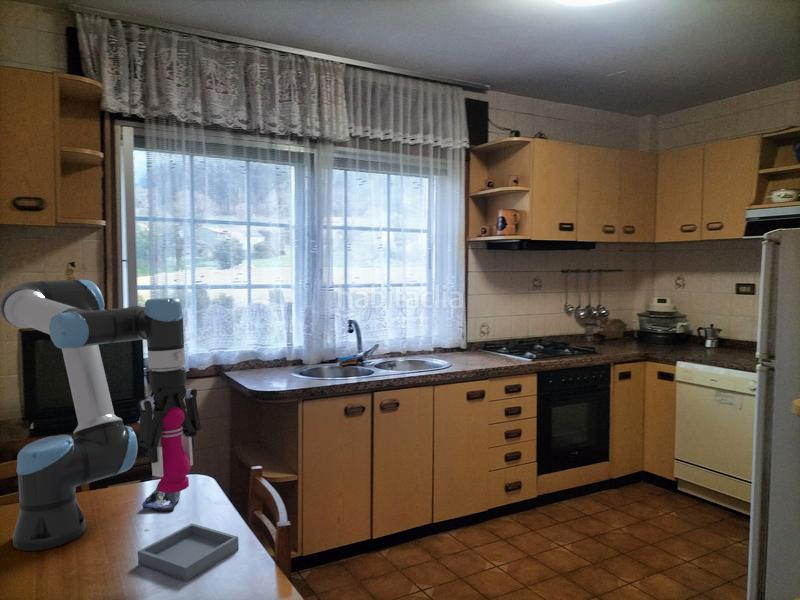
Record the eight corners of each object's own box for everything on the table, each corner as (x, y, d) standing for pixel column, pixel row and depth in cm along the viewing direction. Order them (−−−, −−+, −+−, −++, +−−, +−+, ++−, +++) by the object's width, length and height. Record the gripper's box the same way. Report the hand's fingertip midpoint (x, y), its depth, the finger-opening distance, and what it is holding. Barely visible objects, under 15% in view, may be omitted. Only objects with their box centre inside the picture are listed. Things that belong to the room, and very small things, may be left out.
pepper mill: (179, 494, 125) (174, 403, 124) (149, 493, 126) (144, 402, 125) (197, 482, 132) (192, 395, 131) (168, 481, 133) (164, 395, 132)
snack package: (199, 501, 161) (171, 491, 167) (195, 480, 159) (167, 471, 165) (162, 525, 151) (134, 514, 157) (157, 503, 149) (130, 493, 155)
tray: (138, 564, 127) (137, 551, 127) (192, 535, 140) (192, 523, 140) (186, 581, 120) (185, 567, 119) (238, 549, 133) (238, 536, 132)
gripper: (137, 377, 117) (144, 488, 118) (214, 361, 134) (219, 458, 136) (114, 375, 121) (121, 482, 122) (192, 360, 138) (197, 454, 139)
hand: (173, 470), depth 129 cm, fingers closed on pepper mill, 7 cm apart
